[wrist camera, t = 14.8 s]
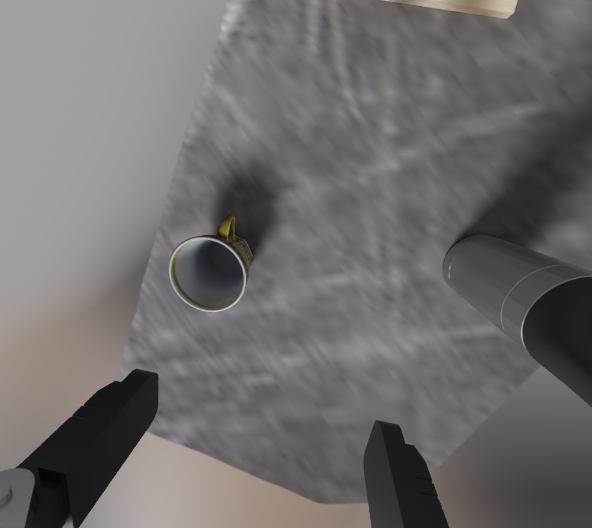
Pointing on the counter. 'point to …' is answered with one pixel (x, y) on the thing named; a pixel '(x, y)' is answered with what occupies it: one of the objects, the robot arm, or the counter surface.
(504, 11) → the gear board
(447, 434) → the counter surface
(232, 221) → the ceramic cup
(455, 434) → the counter surface
